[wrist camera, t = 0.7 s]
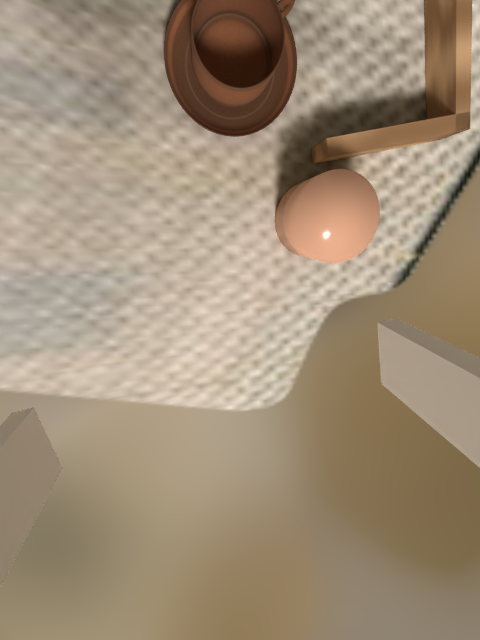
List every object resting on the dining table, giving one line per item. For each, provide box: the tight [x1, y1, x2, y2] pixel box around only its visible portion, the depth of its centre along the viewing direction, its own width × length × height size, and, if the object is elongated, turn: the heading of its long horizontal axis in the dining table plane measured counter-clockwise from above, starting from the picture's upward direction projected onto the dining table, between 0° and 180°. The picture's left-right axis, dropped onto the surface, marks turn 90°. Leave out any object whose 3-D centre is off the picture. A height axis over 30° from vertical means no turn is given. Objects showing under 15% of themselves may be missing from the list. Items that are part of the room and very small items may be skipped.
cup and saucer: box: [164, 0, 297, 137], centre depth 28 cm, size 12×12×6 cm
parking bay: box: [311, 0, 472, 164], centre depth 30 cm, size 19×14×4 cm
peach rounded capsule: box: [275, 169, 380, 263], centre depth 32 cm, size 8×8×7 cm
